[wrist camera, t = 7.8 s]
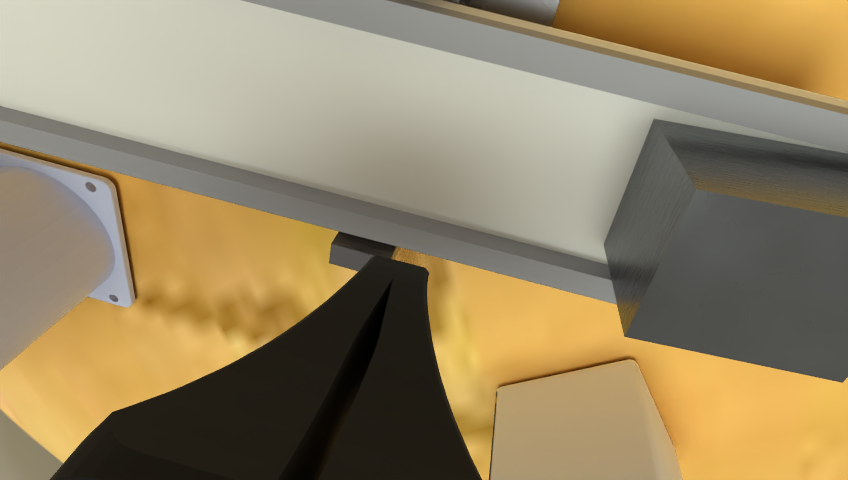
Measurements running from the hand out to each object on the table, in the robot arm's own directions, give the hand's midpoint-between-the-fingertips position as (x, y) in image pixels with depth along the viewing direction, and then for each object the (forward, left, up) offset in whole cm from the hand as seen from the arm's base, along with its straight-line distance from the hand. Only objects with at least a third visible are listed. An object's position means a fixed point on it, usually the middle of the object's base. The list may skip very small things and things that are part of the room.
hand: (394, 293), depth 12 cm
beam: (-2, +2, -7) cm, 8 cm away
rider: (+8, +3, -4) cm, 9 cm away
